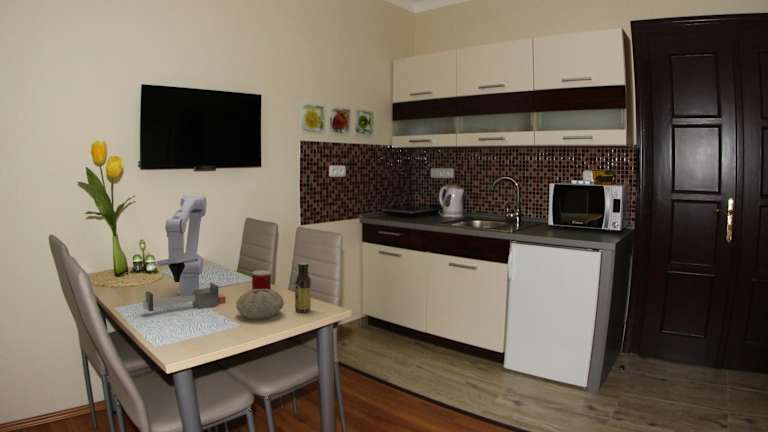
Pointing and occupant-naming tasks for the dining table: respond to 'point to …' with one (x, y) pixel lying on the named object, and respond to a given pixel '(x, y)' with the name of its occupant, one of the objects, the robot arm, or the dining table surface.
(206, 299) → the bearing block
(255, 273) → the canned food
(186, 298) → the shaft
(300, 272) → the sauce bottle
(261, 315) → the decorative shell
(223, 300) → the spacer
